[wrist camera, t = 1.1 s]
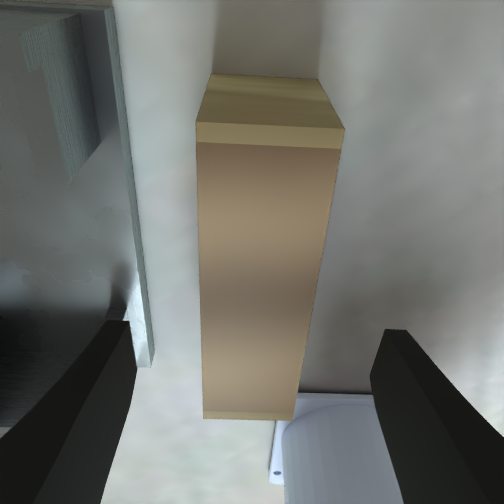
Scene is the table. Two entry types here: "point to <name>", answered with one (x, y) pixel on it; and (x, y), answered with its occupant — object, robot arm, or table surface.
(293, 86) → the brown wooden block
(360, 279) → the table surface
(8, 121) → the brackets
